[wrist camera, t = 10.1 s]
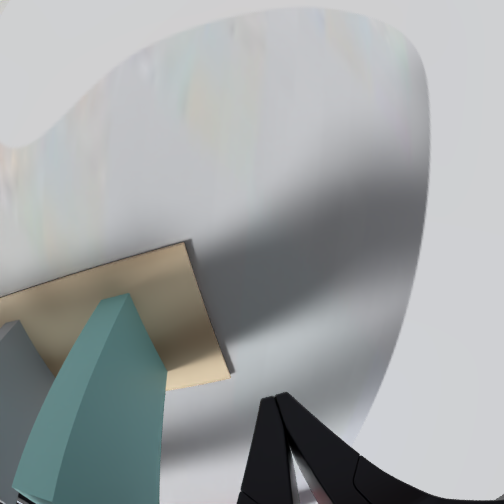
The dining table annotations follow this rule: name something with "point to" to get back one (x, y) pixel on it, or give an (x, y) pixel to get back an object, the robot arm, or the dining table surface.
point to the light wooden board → (148, 307)
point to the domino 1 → (18, 400)
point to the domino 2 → (100, 417)
